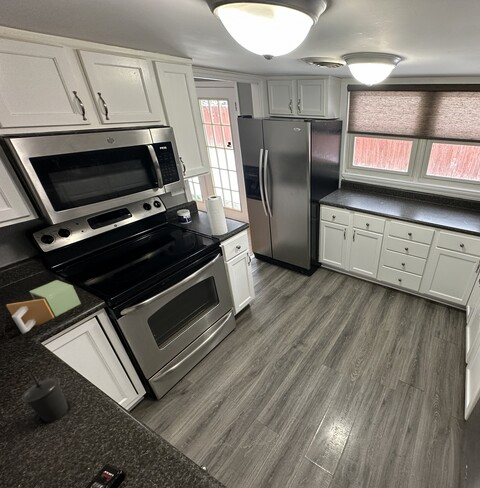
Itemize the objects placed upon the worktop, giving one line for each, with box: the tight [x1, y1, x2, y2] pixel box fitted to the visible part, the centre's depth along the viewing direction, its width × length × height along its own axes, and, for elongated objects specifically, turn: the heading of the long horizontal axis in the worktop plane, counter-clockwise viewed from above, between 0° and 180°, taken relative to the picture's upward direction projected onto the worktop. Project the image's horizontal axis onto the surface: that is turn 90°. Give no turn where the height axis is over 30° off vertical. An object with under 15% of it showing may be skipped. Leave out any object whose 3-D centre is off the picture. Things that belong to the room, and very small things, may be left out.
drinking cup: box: [21, 371, 69, 423], centre depth 77 cm, size 8×8×20 cm
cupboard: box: [29, 279, 82, 318], centre depth 122 cm, size 10×12×13 cm
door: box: [5, 299, 55, 334], centre depth 111 cm, size 8×12×13 cm, turn 111°
